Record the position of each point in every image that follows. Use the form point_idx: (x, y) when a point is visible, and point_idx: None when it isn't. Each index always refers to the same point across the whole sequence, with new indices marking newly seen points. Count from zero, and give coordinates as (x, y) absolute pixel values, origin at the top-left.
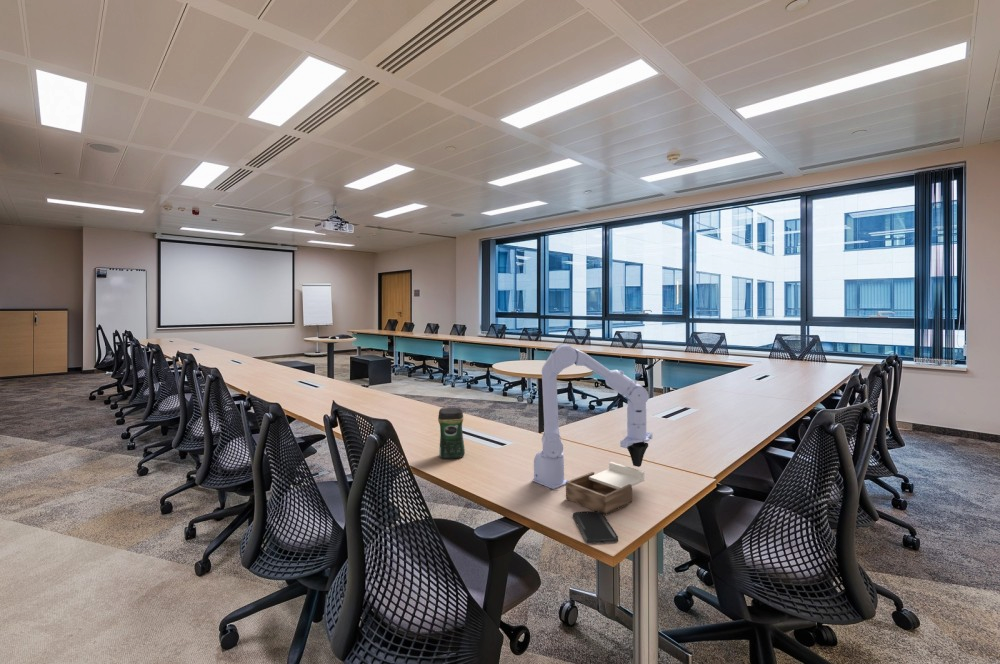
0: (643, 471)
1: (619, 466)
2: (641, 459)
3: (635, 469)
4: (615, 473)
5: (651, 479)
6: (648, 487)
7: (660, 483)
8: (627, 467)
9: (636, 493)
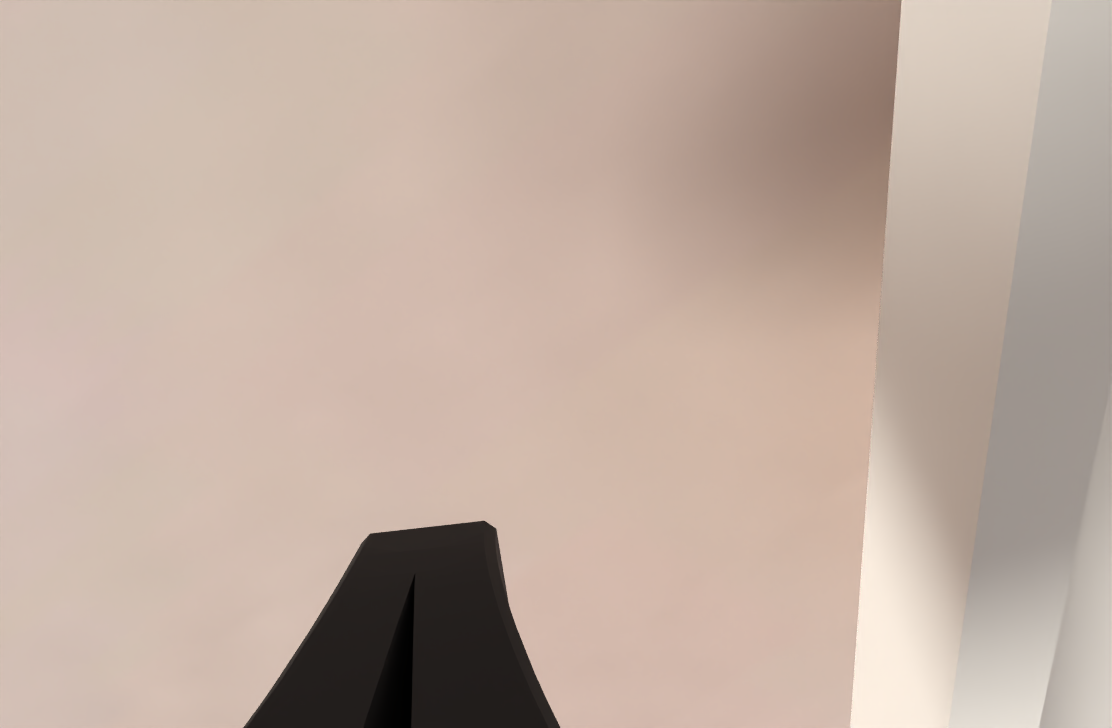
0: (1057, 9)
1: (1020, 721)
2: (370, 663)
3: (1053, 320)
4: (1107, 599)
5: (58, 319)
6: (448, 77)
7: (28, 65)
8: (1032, 561)
9: None
